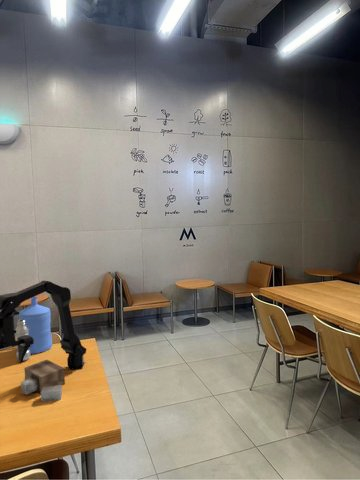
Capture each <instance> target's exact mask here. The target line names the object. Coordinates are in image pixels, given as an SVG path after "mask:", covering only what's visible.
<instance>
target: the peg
mask: <svg viewBox="0 0 360 480" xmlns="http://www.w3.org/2000/svg"><path fill="white" fill-rule="evenodd" d="M38 389H39V386H38V379H37V378H35V377H32V378H29V379H27V380H25V379H24V380H22V381H21V382H20V391H21V393H22V394H24V395H26V396H27V395H29V394H31V393H33V392H37V391H36V390H38Z"/></svg>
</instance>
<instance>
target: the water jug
mask: <svg viewBox="0 0 360 480" xmlns="http://www.w3.org/2000/svg"><path fill="white" fill-rule="evenodd" d="M30 303H31V304H30V305H29V306H27V307H25V308H24V309H23V310H21V311H18V312H19V313H20V314H18V320H22V319H24V320H25V322H26V324H25V325H26V326H27V327H28V329H29V336H31V337H33V339H34V344H32V345H31V347H29V349H30V353H31V354H30V355H34V354H35V355H36V354H40V352H41V353H43V352H46V351H48V350H50V349H51V348H52V346H53V339H52V338H53V337H52V332H51V321H52V318H51V316H52V315H51V309H50V308H49V307H46V306H43V305H40V304H38V297H37V296H35V297H32V298H30Z"/></svg>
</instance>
